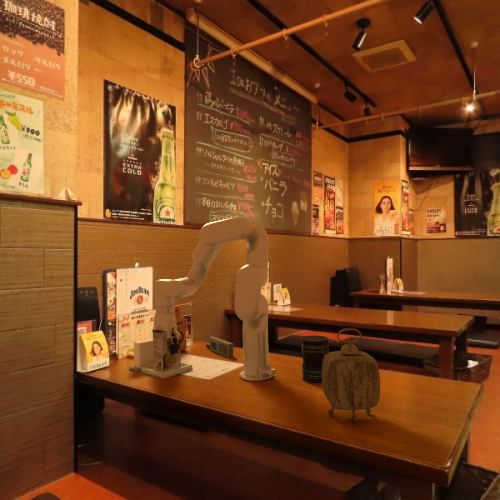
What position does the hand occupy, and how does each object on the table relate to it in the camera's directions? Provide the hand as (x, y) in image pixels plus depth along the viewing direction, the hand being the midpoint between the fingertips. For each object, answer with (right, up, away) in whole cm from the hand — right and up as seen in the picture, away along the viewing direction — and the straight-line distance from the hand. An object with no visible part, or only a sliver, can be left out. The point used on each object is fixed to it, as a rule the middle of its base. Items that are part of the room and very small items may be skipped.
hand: (166, 352), depth 166 cm
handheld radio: (+19, -8, +29) cm, 36 cm away
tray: (0, -8, 0) cm, 8 cm away
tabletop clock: (+62, -6, -52) cm, 81 cm away
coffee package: (-3, -8, +32) cm, 33 cm away
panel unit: (-7, -8, +9) cm, 14 cm away
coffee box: (0, -7, 0) cm, 7 cm away
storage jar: (+58, -6, -16) cm, 60 cm away
